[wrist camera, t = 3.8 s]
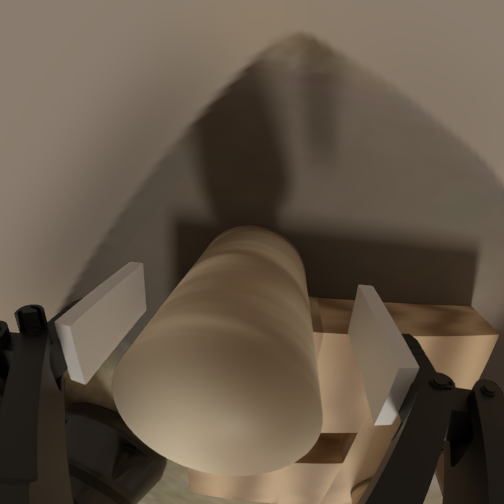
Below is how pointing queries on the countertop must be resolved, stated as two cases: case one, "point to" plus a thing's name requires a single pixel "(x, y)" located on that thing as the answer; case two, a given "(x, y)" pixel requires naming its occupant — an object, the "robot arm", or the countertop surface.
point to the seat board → (357, 404)
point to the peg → (228, 362)
